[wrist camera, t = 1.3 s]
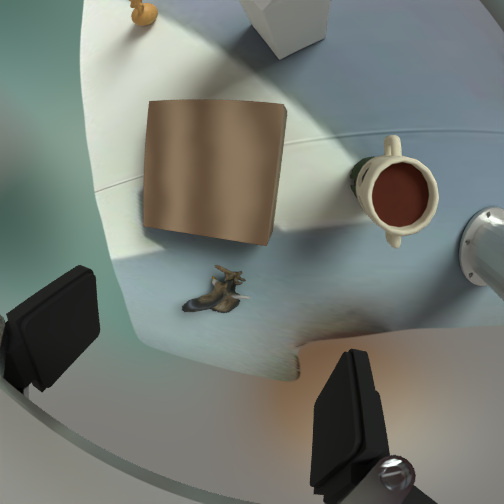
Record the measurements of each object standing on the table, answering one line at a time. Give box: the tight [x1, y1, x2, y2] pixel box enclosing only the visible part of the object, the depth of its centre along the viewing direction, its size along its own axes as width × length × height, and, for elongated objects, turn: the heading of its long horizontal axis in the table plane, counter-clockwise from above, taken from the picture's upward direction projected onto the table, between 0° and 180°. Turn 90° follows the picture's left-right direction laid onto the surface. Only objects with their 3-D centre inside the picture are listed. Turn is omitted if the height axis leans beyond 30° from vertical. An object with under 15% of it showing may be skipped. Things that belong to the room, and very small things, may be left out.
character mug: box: [350, 135, 439, 248], centre depth 28 cm, size 11×7×13 cm, turn 6°
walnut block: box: [143, 100, 287, 246], centre depth 34 cm, size 16×16×6 cm
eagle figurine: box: [182, 265, 251, 313], centre depth 40 cm, size 8×7×9 cm
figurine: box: [129, 0, 158, 26], centre depth 24 cm, size 8×6×12 cm
